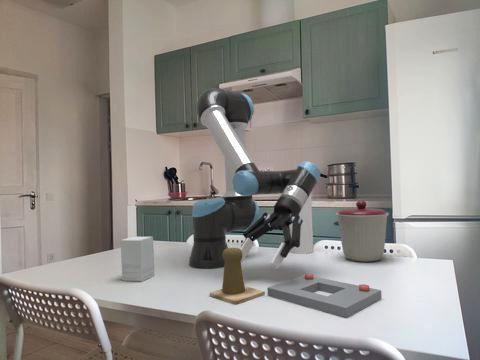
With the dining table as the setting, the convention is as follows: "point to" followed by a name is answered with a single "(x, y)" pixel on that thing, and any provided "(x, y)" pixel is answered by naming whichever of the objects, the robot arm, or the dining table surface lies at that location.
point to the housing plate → (339, 303)
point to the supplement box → (137, 258)
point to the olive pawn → (232, 272)
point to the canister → (362, 232)
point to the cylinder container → (305, 230)
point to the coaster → (238, 295)
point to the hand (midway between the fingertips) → (255, 262)
